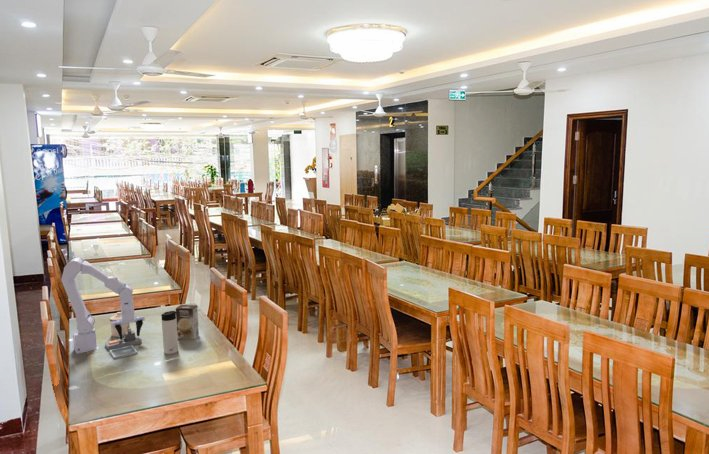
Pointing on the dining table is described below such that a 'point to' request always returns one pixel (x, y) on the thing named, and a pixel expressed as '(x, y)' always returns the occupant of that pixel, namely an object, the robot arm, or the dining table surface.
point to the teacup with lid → (124, 326)
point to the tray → (123, 352)
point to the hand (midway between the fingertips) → (129, 337)
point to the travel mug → (169, 333)
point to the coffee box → (187, 322)
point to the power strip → (122, 343)
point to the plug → (129, 335)
